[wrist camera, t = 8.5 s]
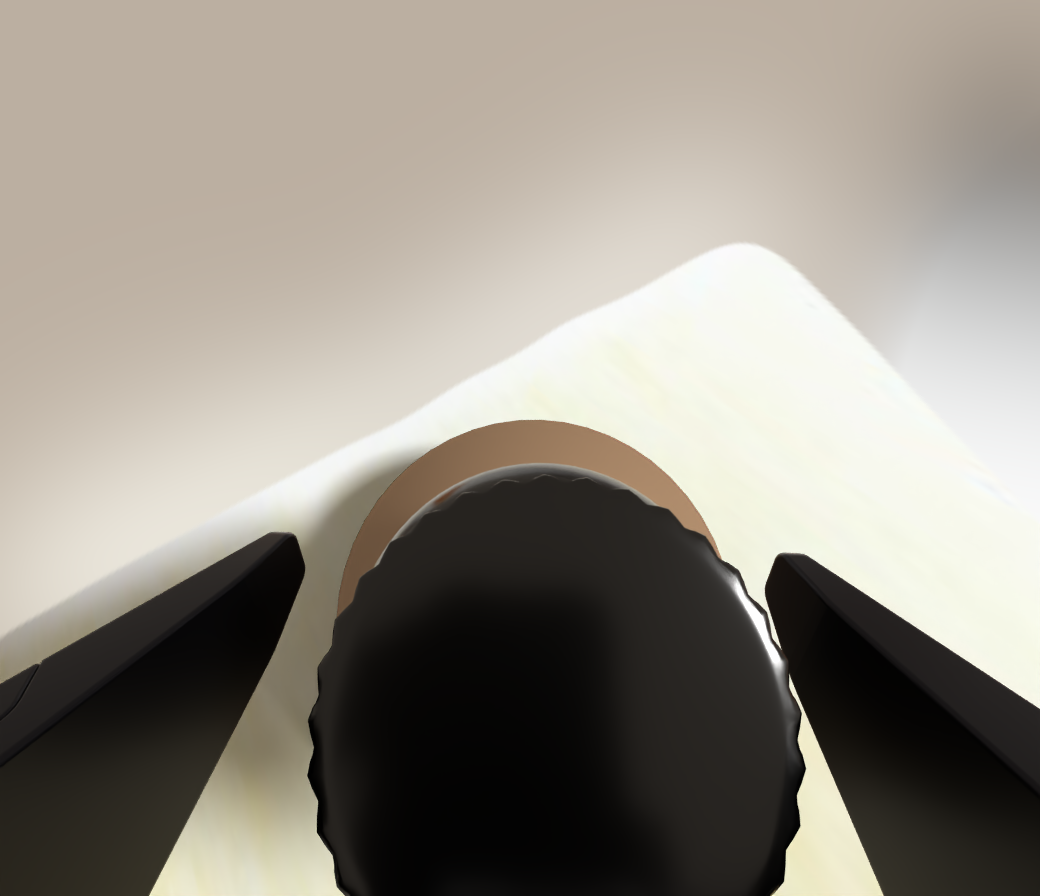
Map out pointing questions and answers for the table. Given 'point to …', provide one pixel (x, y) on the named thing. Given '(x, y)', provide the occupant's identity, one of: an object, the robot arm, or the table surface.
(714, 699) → the supplement bottle
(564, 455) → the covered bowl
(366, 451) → the table surface
